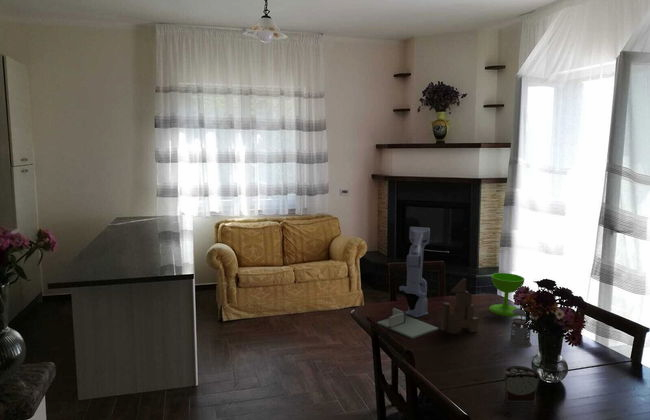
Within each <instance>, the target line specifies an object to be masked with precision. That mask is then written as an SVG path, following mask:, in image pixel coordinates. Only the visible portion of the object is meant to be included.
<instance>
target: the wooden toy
mask: <svg viewBox="0 0 650 420" xmlns="http://www.w3.org/2000/svg"><path fill="white" fill-rule="evenodd" d="M450 292H451V293H452V294H455V302H454V303H455V306H454V308H453V309H452V310H451V311H450V307H451V306H450V302H446V301H445V302H442V306H441V307H442V308H441V309H442V310H441V323H440V324H441V326H440V328H441V329H440V330H442V331H443V332H447V333H449V334H450V335H453V334H458V333H459V330H460V329H461V328H462V327H463V328H464V329H465V330H467V331H468V332H470V333H477V332H478V328H479V326H478V325H479V318H478V317H476V316H475V313H474V312H475V311H474V310H475V305H474V304H472V301H473V297H472V294H471V293H470V292H469V291H467V279H466V278H465V277H462V279H461V280H460V281H459V282H458V283H457V284H456V285H455V286H454V287H453V288H452V289H451V290H450Z"/></svg>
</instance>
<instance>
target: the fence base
mask: <svg viewBox="0 0 650 420" xmlns="http://www.w3.org/2000/svg"><path fill="white" fill-rule="evenodd" d="M400 313H404V323H405V319H406V315H407V314H406V311H403V310H401V309H397V308H395V307H394V308H392V316H394V315H397V314H400Z"/></svg>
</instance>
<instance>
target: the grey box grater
mask: <svg viewBox="0 0 650 420" xmlns="http://www.w3.org/2000/svg"><path fill="white" fill-rule="evenodd" d="M516 308H517V309H514V310H513V311H512V312H513V313H514V314H515V315H518V316H519V317H520V318H513V319H512V322H511V325H510V326H511V327H510V338H509V339H508V340H507V342H508V343H509V344H510V345H512V346H513V347H514V346H515V347H517V348H525V349H526V348H531V347H532V346H533V344H531V343H532V342H531V333H532V331H531V330H532V329H531V330H528V331H527V328H529V327H528V325H530V324H531V322H530V321H529V322H528V323H527V324H525V320H526V318H527V317H526V313H525V311H524V310H520V308H521V307H520V308H519V307H516ZM518 316H517V317H518ZM523 317H524V319H523ZM529 323H530V324H529ZM521 326H522V327H521Z"/></svg>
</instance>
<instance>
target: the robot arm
mask: <svg viewBox="0 0 650 420" xmlns="http://www.w3.org/2000/svg"><path fill="white" fill-rule="evenodd" d="M408 232H409V233H408V238H409V241H410V243H411V245H410V247H409V252H408V254H407V256H406V271H407V272H406V286H405V285H400V286H399V291H400V292H405V294H404V297H405V299H406V301H407V305H408V307H407V308H408V310H407V311H405V312H406V315H407V316H410V317H413V318H419V317H423V316H426V315H429V312H428V305H429V304H428V298H427V293H428V282H427V280H426V279H424V278H423V265H424V264H423V263H424V250H425V246H427V245H429V243H430V236H431V229H430V227H421V226H420V227H419V226H410V227H409V231H408Z"/></svg>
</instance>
